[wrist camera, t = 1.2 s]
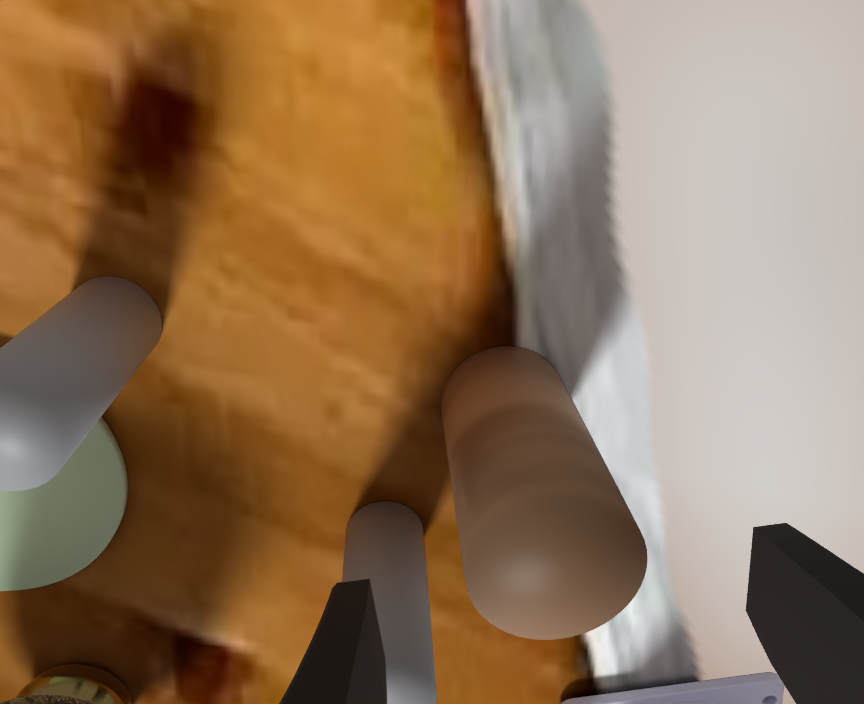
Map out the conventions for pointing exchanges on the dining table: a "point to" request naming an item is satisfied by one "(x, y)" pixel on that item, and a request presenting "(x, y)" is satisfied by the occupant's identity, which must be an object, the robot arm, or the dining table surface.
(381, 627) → the post
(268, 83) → the dining table surface
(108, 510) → the coaster
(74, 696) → the cup
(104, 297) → the post
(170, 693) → the dining table surface
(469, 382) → the dowel
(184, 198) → the dining table surface
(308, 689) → the robot arm
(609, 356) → the dining table surface
